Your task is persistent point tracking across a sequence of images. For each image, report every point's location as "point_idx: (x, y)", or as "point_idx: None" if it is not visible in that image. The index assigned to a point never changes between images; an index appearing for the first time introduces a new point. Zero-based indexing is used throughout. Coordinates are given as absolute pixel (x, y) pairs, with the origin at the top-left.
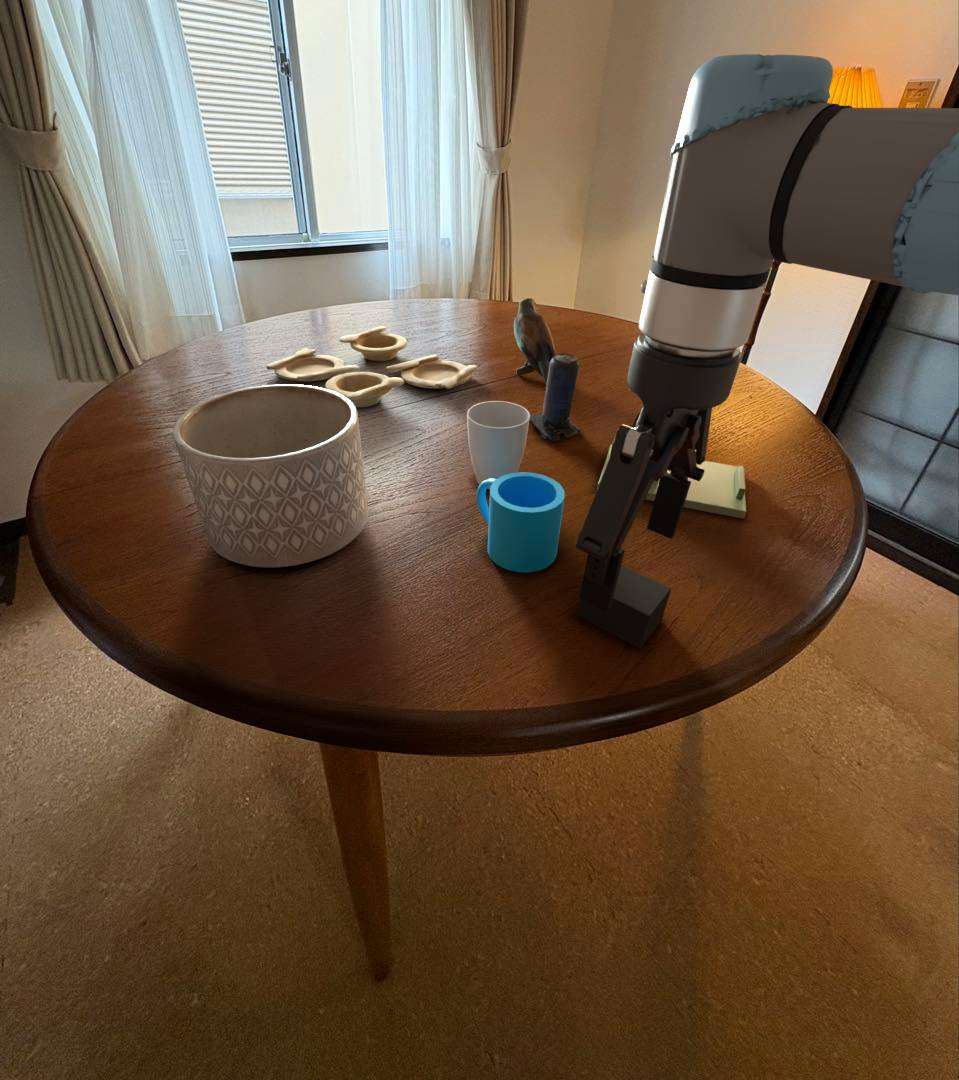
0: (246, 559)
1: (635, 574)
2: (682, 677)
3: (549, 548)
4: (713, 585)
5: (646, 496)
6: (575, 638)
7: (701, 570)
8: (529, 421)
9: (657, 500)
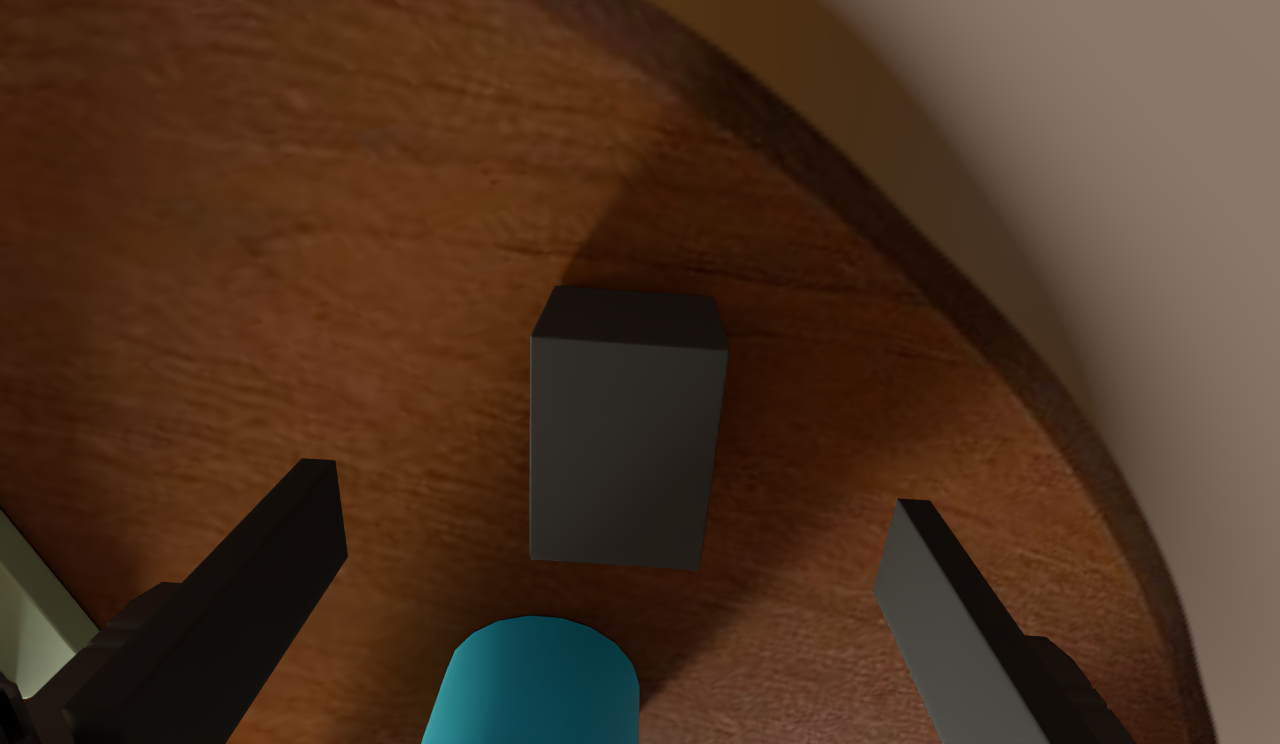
0: None
1: (545, 462)
2: (751, 144)
3: (552, 675)
4: (256, 193)
5: (8, 543)
6: (774, 454)
7: (213, 255)
8: None
9: (264, 670)
